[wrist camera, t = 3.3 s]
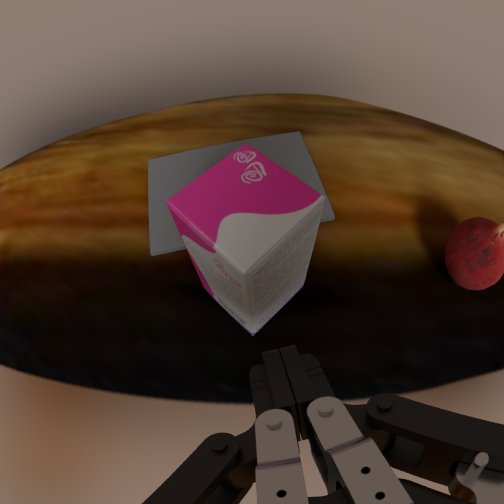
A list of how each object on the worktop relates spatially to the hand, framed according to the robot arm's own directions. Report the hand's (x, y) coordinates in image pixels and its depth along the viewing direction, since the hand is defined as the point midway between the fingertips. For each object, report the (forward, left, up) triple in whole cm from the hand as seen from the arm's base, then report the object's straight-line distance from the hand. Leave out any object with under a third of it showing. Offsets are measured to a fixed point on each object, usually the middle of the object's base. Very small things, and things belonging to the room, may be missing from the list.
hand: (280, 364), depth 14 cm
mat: (0, -17, -9) cm, 20 cm away
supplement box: (0, -7, -9) cm, 12 cm away
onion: (-18, -4, -9) cm, 21 cm away
